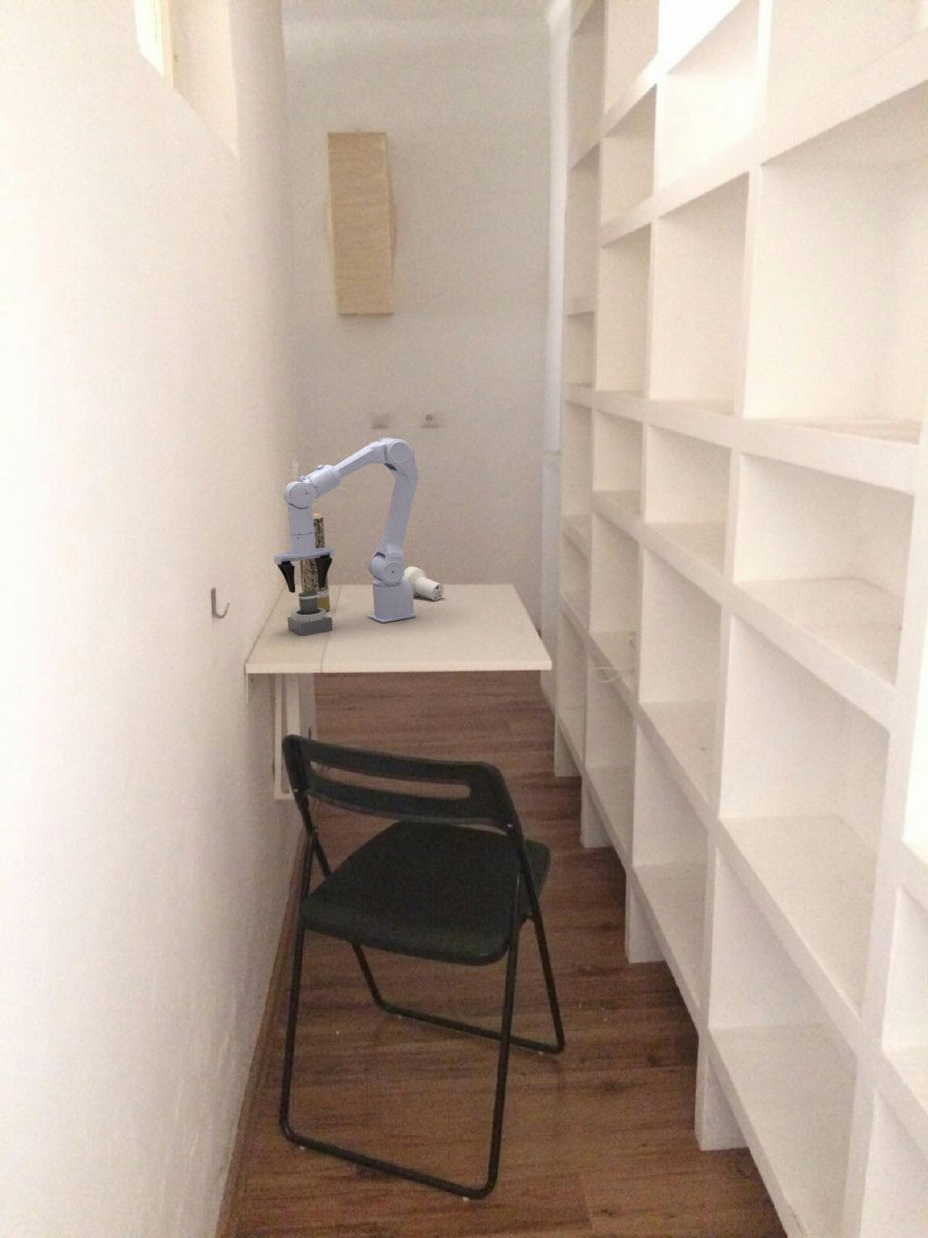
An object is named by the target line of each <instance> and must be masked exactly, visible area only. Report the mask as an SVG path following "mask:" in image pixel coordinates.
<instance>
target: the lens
mask: <svg viewBox="0 0 928 1238" xmlns="http://www.w3.org/2000/svg"><path fill="white" fill-rule="evenodd" d="M297 596H298V604H299V609H300V615H311V614H316V613H319V609H318V598H317V597H318V596H317V592H314V591H307V592H302V591H301V592H299V593H298V595H297Z"/></svg>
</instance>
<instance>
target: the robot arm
mask: <svg viewBox="0 0 928 1238" xmlns="http://www.w3.org/2000/svg"><path fill="white" fill-rule="evenodd" d="M370 464H382V465H384V466H385V467H386V468H388V470H389V471H390V473H391V474H392V476H393V477H394V479H395V481H394V486H393V490H392V495H391V498H390V503H389V507H388V512H387V516H386V520H385V524H384V527H383V533H382V536H381V541H380V542H379V544H378V545H377V546H376V548H375V552H374V554H373V555H372V556H371V558H370V559H369V561H368V565H367V567H368V572H369V573H370V575H372V577H373V578H372V597H373V610H374V611H373V612H374V613H372V614H368V615H367V616H368V618H370V619H373V620H374V621H377V622H380V623H384V624H385V623H389V622H394V621H399V620H405V619H409V618H413V617H414V618H415V617H416V614H415V608H414V607H415V605H414V597H413V590H412V587H411V584H410V583H409V582H408V581H407V580H402V578H403V576H404V570H405V567H404V560H405V554H404V551H403V545H404V541H405V536H406V532H407V528H408V523H409V520H410V514H411V511H412V508H413V507H412V506H413V504H414V503H413V502H414V500H415V499H414V498H415V494H416V491H417V486H418V482H419V470H418V467H417V463H416V460H415V451H414V449H413V448H412V446H411V445H410V444H409V443H408V441H406V440H404V439H401V438H392V437H388V436H387V437H386V436H384V437H382V438H380V439H378V440H377V441H373V442H371V443H369V444H367V445H365V446H364V447H363V448H361V449H360V450H357V451H356V452H354V453H353V454H351V455H350V456H349V457H347V458H345V459H343V460H342V461H341V462H339V463H337V464H336V465H334V466H333V465H330V464H325V465H324V464H320V465H318V466H316V470H314V471H313V472H311V473H309V474H307V475H301V476H299V481H297V480H296V481H291V482H289V483H288V484H287V485H286V487H285V488H284V492H283V494H282V498H283V499H284V501H285V503H287V510H288V512H287V513H288V515H287V517H288V518H287V519H288V527H289V529H288V530H289V539H290V548H291V551H287V552H283V553H279V554H275V555H273V563H274V564H276V565H277V568H279V570H280V572H281V574H282V575H283V578H284V580H285V582H286V585H287V588H288V592H289V593H292V594H294V593H296V583H295V582H296V581H295V569H296V566H295V565H293V562H298V561H299V560H306V559H312V558H314V559H315V563H316V567H317V573H318V584H319V587H322V588H324V587H325V582H326V577H327V575H328V573H329V569H330V567H331V565H332V563H333V557H334V556H335V551H334V550H335V549H334V547H331V546H328V547H327V546H325V548H316V545H315V533H314V522H313V506H312V505H313V503H314V502H315V499H318V498H321V497H322V496H324V495H325V494H328V493H329V492H331V491H332V490H334V489H336V488H337V487H339V486H340V485H341V481H342V479H344V478H345V477H347V476H348V475H350V474H352V473H354V472H357V471H358V470H360V469H362V468H364V467H366V466H368V465H370ZM301 557H302V558H301ZM299 562H300V561H299Z"/></svg>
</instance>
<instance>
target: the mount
mask: <svg viewBox="0 0 928 1238" xmlns="http://www.w3.org/2000/svg"><path fill="white" fill-rule="evenodd" d="M318 609H319V613H316V614H311V615H300V608H298V609H295V610H294V611H292V612H291V616H287V619H286V620H287V627H288V628H287V629H288V630H289V631H291V632H294V633H295V634H297V635H299V636H301V637H303V636H309V635H314V634H318V633H324V632H329V631H334V630H333V618H332V617H331V616H329V614H327V611H326V610H325V609H322V608H318Z"/></svg>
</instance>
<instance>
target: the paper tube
mask: <svg viewBox="0 0 928 1238" xmlns="http://www.w3.org/2000/svg"><path fill="white" fill-rule="evenodd" d="M312 513H313V512H312ZM313 522H314V533H315V545H316V548H325V547H326V539H325V538H326V537H325V527H324V516H323V514H322V513H320V512H319V513H318V512H317V513H313ZM301 558H302V557H301ZM299 571H300V572H299V573H300V581H301V582H300V583H301V592H307V591H314V592H317V596H318V597H317V598H318V608H322V609H325V610H326V612H329V611H330V610H331V604H330V603H331V602H330V590H329V577H328V574H327V577H326V582H325V587H324V588H322V587H319V584H318V573H317V567H316V563H315V559H314V558H312V559H306V560H299Z"/></svg>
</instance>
